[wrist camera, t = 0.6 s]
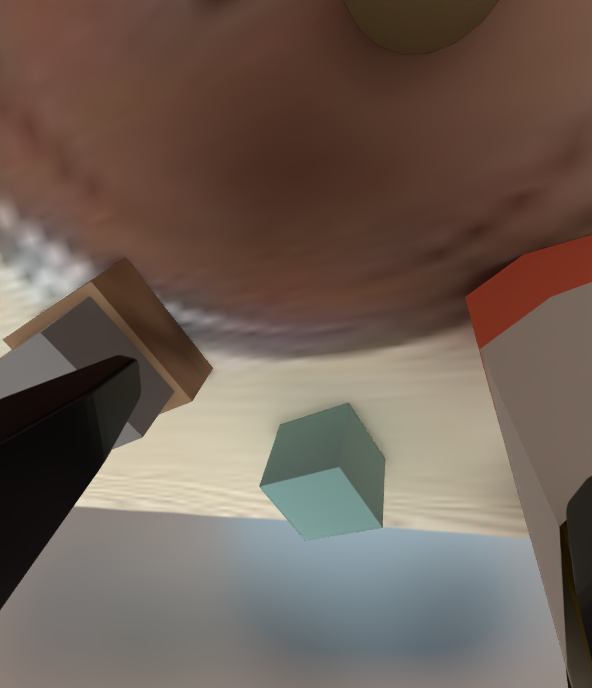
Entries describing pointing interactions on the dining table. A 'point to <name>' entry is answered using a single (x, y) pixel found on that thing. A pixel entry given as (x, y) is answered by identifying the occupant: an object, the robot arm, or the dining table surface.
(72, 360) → the charcoal block
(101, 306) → the walnut slab
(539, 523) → the french fries container
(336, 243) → the dining table surface
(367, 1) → the cork
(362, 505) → the teal cube
